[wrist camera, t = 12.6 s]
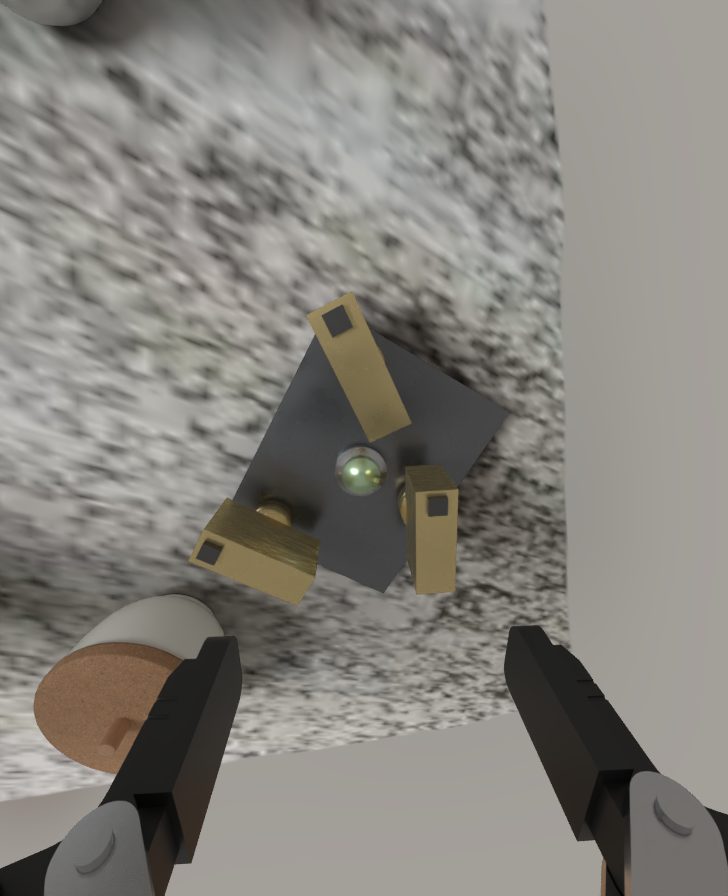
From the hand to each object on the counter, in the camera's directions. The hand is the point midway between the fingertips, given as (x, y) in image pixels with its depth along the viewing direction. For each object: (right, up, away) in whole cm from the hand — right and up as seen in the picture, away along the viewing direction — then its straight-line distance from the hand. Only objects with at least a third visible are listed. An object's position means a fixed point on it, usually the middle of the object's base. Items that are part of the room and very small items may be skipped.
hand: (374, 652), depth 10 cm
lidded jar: (-16, -9, +19) cm, 26 cm away
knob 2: (-1, +11, +11) cm, 16 cm away
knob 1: (-7, +1, +14) cm, 15 cm away
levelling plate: (-1, +5, +15) cm, 16 cm away
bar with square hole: (+3, +3, +14) cm, 15 cm away
